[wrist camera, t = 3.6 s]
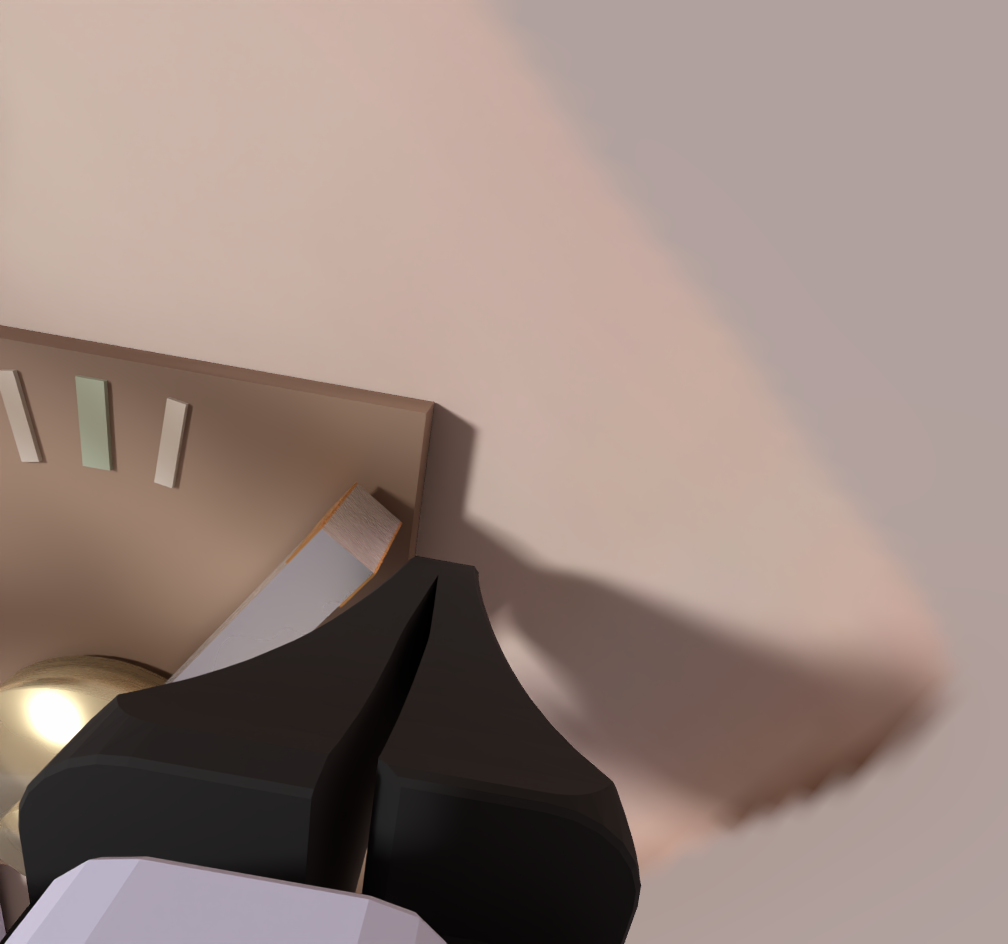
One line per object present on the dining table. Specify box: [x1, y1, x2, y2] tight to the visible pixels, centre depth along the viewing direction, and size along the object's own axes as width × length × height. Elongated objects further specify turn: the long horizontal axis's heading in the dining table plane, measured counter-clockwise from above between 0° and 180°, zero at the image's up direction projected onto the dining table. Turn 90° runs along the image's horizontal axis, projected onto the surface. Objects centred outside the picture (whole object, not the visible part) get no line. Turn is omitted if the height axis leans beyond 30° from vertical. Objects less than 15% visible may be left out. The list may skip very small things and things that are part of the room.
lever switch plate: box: [0, 325, 434, 894], centre depth 16 cm, size 16×12×1 cm
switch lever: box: [0, 483, 402, 876], centre depth 14 cm, size 14×7×2 cm, turn 136°
